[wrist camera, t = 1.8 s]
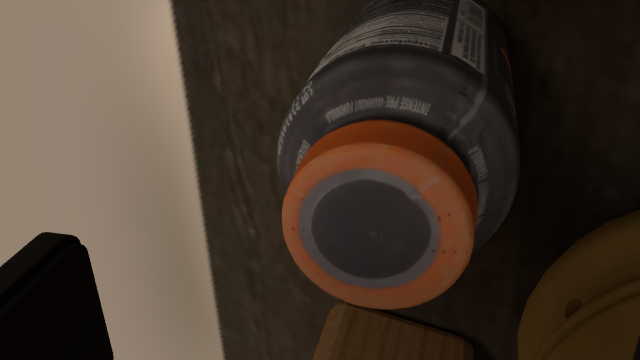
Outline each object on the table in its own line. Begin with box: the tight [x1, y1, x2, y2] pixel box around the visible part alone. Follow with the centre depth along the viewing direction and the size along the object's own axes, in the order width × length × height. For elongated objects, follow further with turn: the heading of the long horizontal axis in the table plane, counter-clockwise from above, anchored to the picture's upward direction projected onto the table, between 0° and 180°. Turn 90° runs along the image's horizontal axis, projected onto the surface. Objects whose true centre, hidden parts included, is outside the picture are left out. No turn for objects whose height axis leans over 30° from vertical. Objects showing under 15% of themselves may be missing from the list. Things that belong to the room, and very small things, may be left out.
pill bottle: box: [277, 0, 520, 309], centre depth 17 cm, size 6×6×11 cm
